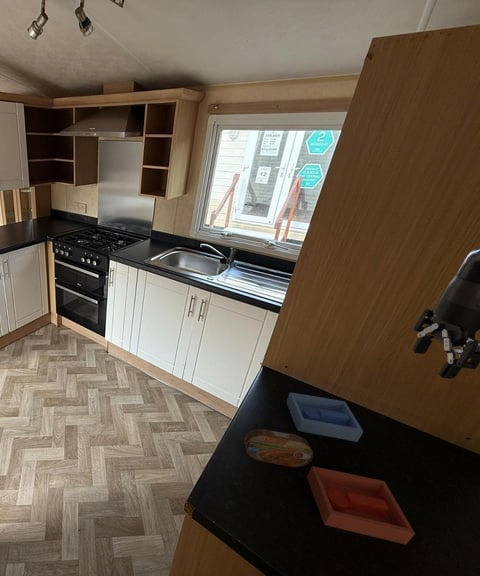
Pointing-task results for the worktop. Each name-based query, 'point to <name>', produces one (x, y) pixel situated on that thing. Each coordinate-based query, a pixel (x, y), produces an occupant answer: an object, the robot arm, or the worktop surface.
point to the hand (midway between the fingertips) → (430, 364)
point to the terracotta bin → (355, 521)
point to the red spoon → (356, 502)
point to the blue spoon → (325, 416)
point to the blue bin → (322, 428)
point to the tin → (278, 448)
